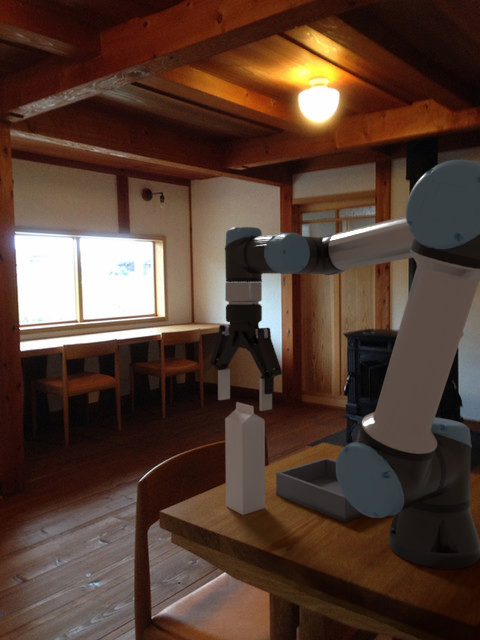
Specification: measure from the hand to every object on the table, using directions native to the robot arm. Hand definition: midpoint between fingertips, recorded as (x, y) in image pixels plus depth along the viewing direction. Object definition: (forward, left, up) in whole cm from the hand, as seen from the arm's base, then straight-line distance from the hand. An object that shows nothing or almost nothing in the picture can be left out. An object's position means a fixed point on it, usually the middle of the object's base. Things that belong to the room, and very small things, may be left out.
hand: (244, 404), depth 116 cm
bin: (-9, -18, -22) cm, 30 cm away
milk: (-1, 0, -22) cm, 22 cm away
